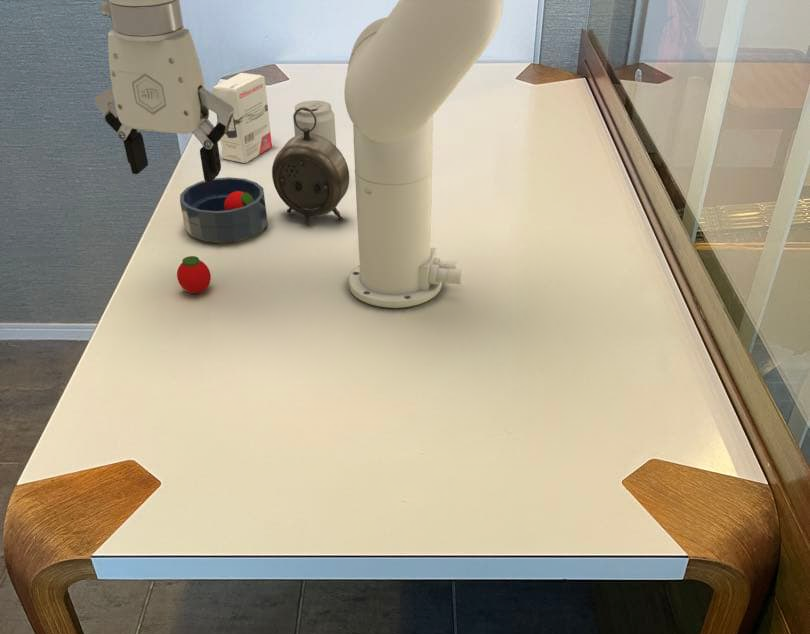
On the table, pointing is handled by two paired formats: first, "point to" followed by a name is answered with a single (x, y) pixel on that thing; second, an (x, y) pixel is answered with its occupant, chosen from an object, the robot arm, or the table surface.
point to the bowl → (222, 210)
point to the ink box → (245, 117)
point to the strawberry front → (237, 200)
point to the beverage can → (323, 116)
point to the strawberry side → (193, 275)
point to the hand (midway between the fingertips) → (176, 173)
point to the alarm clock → (310, 174)
